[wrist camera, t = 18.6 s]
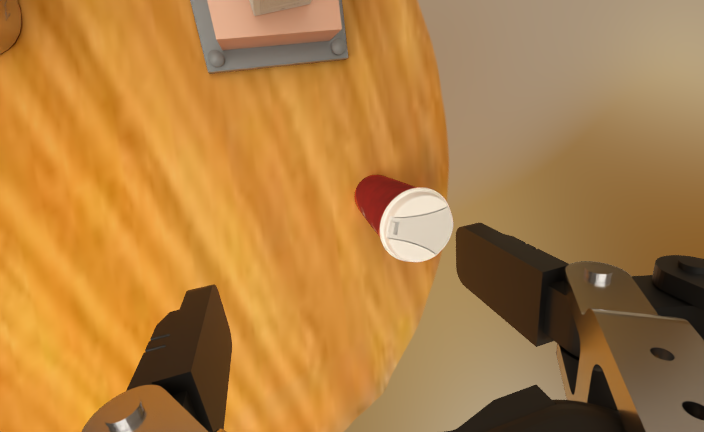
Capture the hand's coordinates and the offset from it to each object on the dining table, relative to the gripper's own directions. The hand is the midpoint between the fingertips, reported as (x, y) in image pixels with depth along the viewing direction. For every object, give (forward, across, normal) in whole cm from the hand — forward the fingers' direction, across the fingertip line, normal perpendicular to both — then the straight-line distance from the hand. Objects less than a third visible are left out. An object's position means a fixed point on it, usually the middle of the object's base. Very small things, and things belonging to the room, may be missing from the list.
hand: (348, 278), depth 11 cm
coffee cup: (+34, -12, +8) cm, 37 cm away
